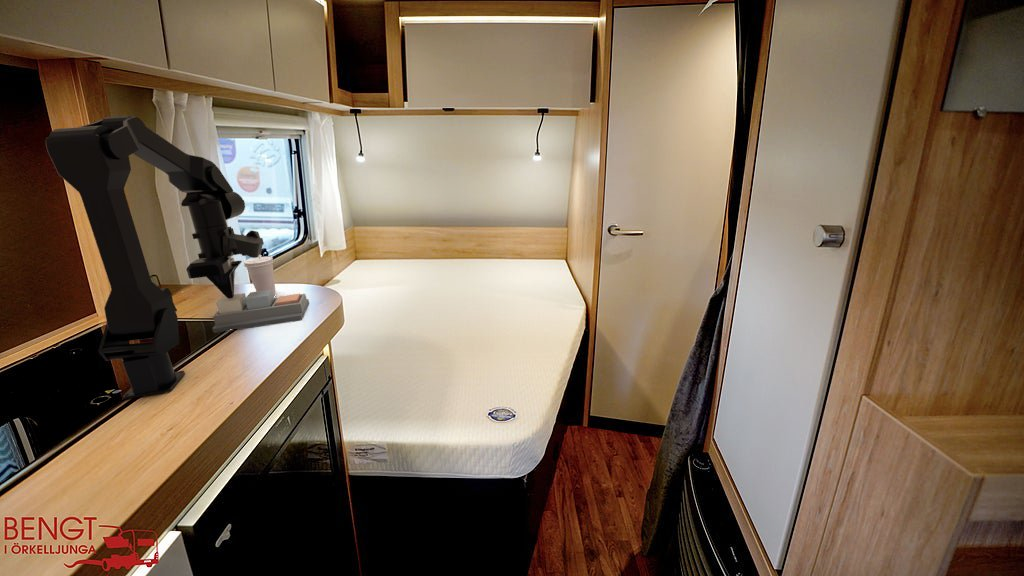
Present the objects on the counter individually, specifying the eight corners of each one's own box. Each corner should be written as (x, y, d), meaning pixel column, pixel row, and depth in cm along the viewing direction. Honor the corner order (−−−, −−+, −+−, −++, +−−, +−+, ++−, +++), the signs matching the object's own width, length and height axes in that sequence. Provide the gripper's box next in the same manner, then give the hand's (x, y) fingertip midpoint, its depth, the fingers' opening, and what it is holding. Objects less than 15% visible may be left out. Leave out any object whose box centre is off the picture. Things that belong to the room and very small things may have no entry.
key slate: (270, 306, 100) (267, 295, 100) (247, 309, 99) (244, 298, 99) (274, 300, 104) (271, 289, 104) (253, 303, 103) (250, 292, 103)
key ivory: (242, 310, 99) (239, 299, 98) (219, 313, 98) (216, 302, 97) (247, 303, 103) (244, 293, 102) (225, 306, 102) (222, 296, 101)
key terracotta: (299, 310, 102) (296, 299, 101) (277, 313, 101) (275, 302, 100) (302, 303, 106) (300, 293, 105) (281, 306, 105) (279, 296, 104)
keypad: (301, 319, 100) (298, 306, 99) (213, 333, 96) (209, 319, 95) (309, 303, 110) (306, 291, 109) (229, 314, 106) (226, 302, 105)
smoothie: (287, 294, 117) (274, 240, 112) (262, 303, 112) (248, 246, 107) (272, 291, 120) (259, 238, 116) (248, 299, 115) (233, 244, 111)
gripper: (241, 229, 88) (261, 306, 93) (264, 214, 105) (280, 280, 110) (174, 236, 85) (198, 315, 90) (209, 219, 103) (228, 286, 108)
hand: (230, 297), depth 100 cm, fingers closed
